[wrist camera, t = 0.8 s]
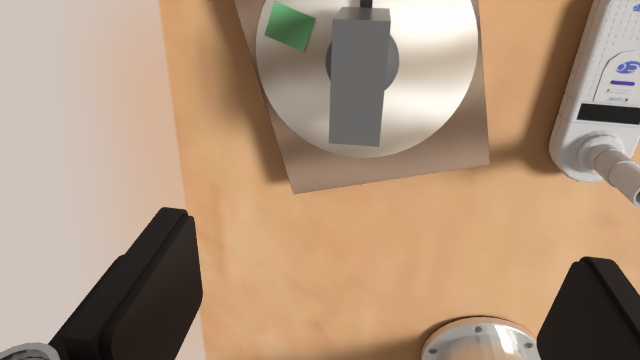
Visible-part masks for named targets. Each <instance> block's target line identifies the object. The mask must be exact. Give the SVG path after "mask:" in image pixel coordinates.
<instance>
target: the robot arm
mask: <svg viewBox="0 0 640 360" xmlns="http://www.w3.org/2000/svg"><path fill="white" fill-rule="evenodd" d="M202 296H203V290H202V281H201V273H200V264H199V255H198V246H197V238H196V229H195V221H194V218H193V216H188V213H187V211H186V210H184V209H175V208H167V207H163V208H161V209H160V210H159V211H158V213H157V214H156V215H155V217H154V218H153V219H152V221H151V222H150V223H149V224H148V226H147V227H146V228H145V229H144V230H143V232H142V233H141V234H140V236H139V237H138V238H137V239H136V241H135V242H134V243H133V244H132V246H131V247H130V248H129V250H128V251H127V252H126V253H125V255H121V256H119V257H118V258H117V259H116V260H115V261H114V262H113V263H112V265H111V266H110V267H109V268H108V270H107V271H106V272H105V274H104V275H103V276H102V277H101V279H100V280H99V281H98V282H97V283H96V285H95V286H94V287H93V288H92V290H91V291H90V292H89V294H88V295H87V296H86V297H85V299H84V300H83V301H82V302H81V303H80V305H79V306H78V307H77V308H76V310H75V311H74V312H73V313H72V315H71V316H70V317H69V318H68V320H67V321H66V322H65V323H64V325H63V326H62V327H61V329H60V330H59V331H58V332H57V334H56V335H55V336H54V337H53V338H52V340H51V341H50V342H49V343H48V345H47V344H43V343H26V344H22V345H18V346H15V347H12V348H10V349H7V350H5V351H3V352H1V353H0V360H175V358H176V356H177V354H178V352H179V350H180V347H181V345H182V343H183V341H184V339H185V337H186V335H187V333H188V331H189V329H190V326H191V324H192V322H193V320H194V318H195V316H196V314H197V311H198V310H199V307H200V305H201V302H202ZM421 360H640V295H639V294H638V293H637V291H636V290H635V288H634V287H633V286H632V284H631V283H630V282H629V280H628V279H627V278H626V276H625V275H624V273H623V272H622V271H621V269H620V268H619V267H618V265H617V264H616V263H615V262H614V261H613V260H610V259H604V258H595V257H583V258H581V259H580V261H579V262H574V263H573V264H572V265H571V267H570V269H569V271H568V273H567V275H566V277H565V280H564V282H563V284H562V286H561V288H560V290H559V292H558V294H557V296H556V298H555V300H554V302H553V304H552V307H551V309H550V311H549V313H548V315H547V317H546V319H545V321H544V323H543V325H542V327H541V329H540V331H539V334H538V336H537V340H536V339H535V337H534V336H533V335H532V334H531V333H530V332H528V331H527V330H526V329H524V328H523V327H521V326H519V325H517V324H515V323H512V322H510V321H507V320H503V319H498V318H490V317H472V318H466V319H461V320H458V321H455V322H451V323H449V324H447V325H445V326H443V327H441V328H439V329H438V330H437V331H435V332H434V333H433V334H432V335H431V336H430V337H429V338H428V339H427V340H426V342H425V344H424V346H423V348H422V352H421Z"/></svg>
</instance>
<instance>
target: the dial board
mask: <svg viewBox="0 0 640 360" xmlns="http://www.w3.org/2000/svg"><path fill="white" fill-rule="evenodd" d="M234 3H235V6H236V10H237V13H238V16H239V19H240V23H241V26H242V29H243V32H244V35H245V39H246V42H247V45H248V48H249V52H250V55H251V58H252V61H253V65H254V68H255V71H256V74H257V78H258V81H259V84H260V87H261V91H262V94H263V97H264V100H265V104H266V107H267V110H268V113H269V116H270V120H271V123H272V126H273V129H274V133H275V136H276V139H277V142H278V146H279V149H280V152H281V155H282V159H283V162H284V165H285V168H286V172H287V175H288V178H289V181H290V185H291V188H292V191H293V194H299V193H306V192H312V191H319V190H325V189H332V188H338V187H345V186H352V185H358V184H365V183H371V182H378V181H385V180H391V179H398V178H404V177H411V176H417V175H424V174H431V173H437V172H444V171H450V170H457V169H463V168H470V167H477V166H483V165H490V156H489V142H488V128H487V114H486V100H485V86H484V72H483V58H482V44H481V30H480V16H479V2H478V0H373V3H372V8H389V10H390V17H391V27H390V34H391V35H392V37H393V38H394V40H395V42H396V44H397V47H398V52H399V69H398V72H397V75H396V77H395V79H394V81H393V83H392V84H391V85H390V86H389V87H388V88H387V89H386V90H385V91H384V101H383V112H382V122H381V133H380V143H379V147H373V146H358V145H344V144H330V143H329V117H330V86H331V81H330V79H329V77H328V74H327V71H326V62H325V61H326V53H327V50H328V47H329V45H330V43H331V41H332V24H333V18H334V17H335V15H336V14H337V13H338V12H339V10H340V9H341V8H342V7H360V0H234Z"/></svg>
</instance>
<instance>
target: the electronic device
mask: <svg viewBox="0 0 640 360" xmlns="http://www.w3.org/2000/svg"><path fill="white" fill-rule="evenodd" d="M639 138H640V0H594V1H593V3H592V6H591V9H590V12H589V16H588V19H587V22H586V25H585V28H584V32H583V35H582V38H581V41H580V45H579V48H578V51H577V54H576V58H575V61H574V64H573V67H572V70H571V74H570V77H569V80H568V83H567V87H566V90H565V93H564V96H563V99H562V103H561V106H560V109H559V112H558V115H557V119H556V122H555V125H554V128H553V132H552V135H551V138H550V143H549V153H550V156H551V159H552V161H553V162H554V163H555V164H556V165H557V166H558V168H559V169H560V170H561V171H562V172H563V173H564V174H565V175H566V176H567V177H569V178H571V179H573V180H576V181H578V182H596V181H601V180H606V181H607V182H608V183H609V184H610V185H611V186H613V187H616V188H617V189H618V190H619V191H620V192H621V193H622V194H623V195H625V196H626V197H627V198H628V199H629V200H630V201H631V202H632V203H633V204H634V205H635V206H637V207H638V208H640V167H639V165H638V164H637V163H635V162H634V161H633V160H631V159H630V158H631V157H632V155H633V153H634V150H635V148H636V146H637V143H638V141H639Z"/></svg>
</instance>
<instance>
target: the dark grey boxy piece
mask: <svg viewBox="0 0 640 360" xmlns="http://www.w3.org/2000/svg"><path fill="white" fill-rule="evenodd" d="M372 3H373V0H360V7H342V8H341V9H340V10H339V12H338V13H337V14H336V15H335V17H334V18H333V24H332V41H331V43H330V45H329V47H328V50H327V53H326V61H325V62H326V71H327V74H328V77H329V79H330V81H331V86H330V117H329V143H330V144H344V145H358V146H373V147H379V143H380V133H381V122H382V112H383V101H384V91H385V90H386V89H387V88H388V87H389V86H390V85H391V84H392V83H393V81H394V79H395V77H396V75H397V72H398V69H399V52H398V47H397V44H396V42H395V40H394V38H393V37H392V35H391V34H390V27H391V17H390V10H389V8H372Z"/></svg>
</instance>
